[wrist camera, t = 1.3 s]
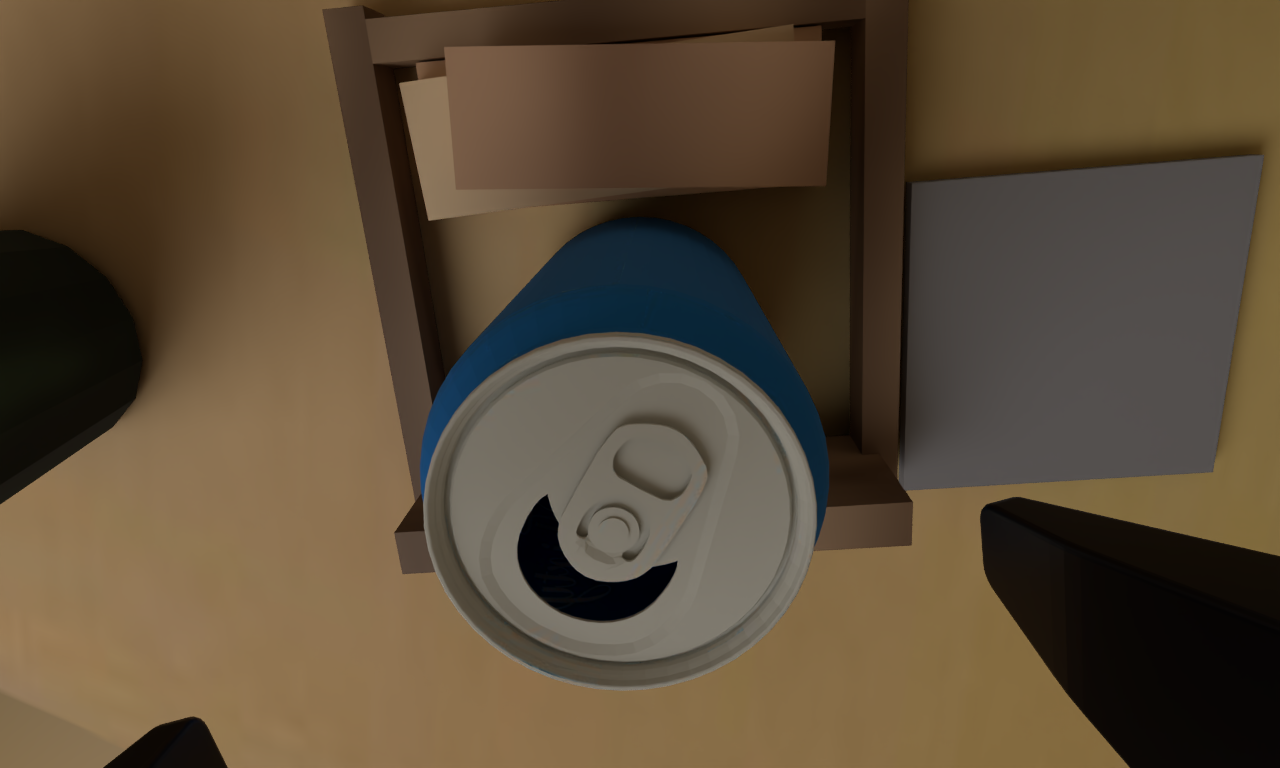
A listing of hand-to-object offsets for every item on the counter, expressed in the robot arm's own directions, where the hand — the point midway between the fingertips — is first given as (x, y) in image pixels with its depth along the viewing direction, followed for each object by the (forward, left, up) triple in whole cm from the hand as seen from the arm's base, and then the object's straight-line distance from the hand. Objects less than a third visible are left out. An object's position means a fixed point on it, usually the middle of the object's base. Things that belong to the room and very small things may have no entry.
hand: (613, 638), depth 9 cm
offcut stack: (0, -6, -14) cm, 15 cm away
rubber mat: (-12, +1, -14) cm, 19 cm away
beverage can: (0, 0, -15) cm, 15 cm away
